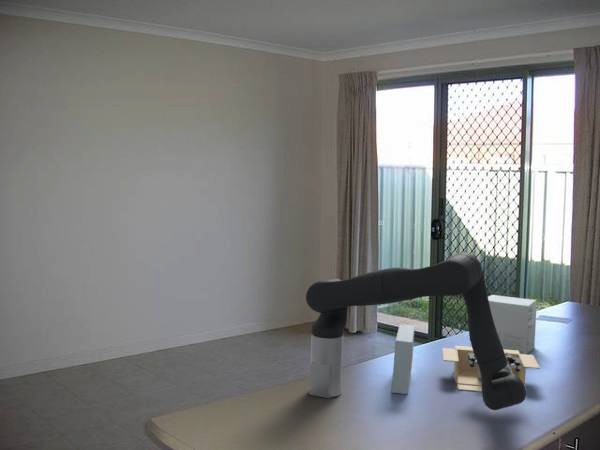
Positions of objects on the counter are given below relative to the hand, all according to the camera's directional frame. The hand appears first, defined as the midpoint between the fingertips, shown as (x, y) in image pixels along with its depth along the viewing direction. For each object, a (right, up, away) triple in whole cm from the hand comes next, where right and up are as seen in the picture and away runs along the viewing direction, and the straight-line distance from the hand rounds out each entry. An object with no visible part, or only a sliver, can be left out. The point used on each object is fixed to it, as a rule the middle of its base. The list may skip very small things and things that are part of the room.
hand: (491, 354), depth 199 cm
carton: (+2, -11, +12) cm, 16 cm away
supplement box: (+20, -7, +51) cm, 55 cm away
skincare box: (-25, -10, +8) cm, 29 cm away
